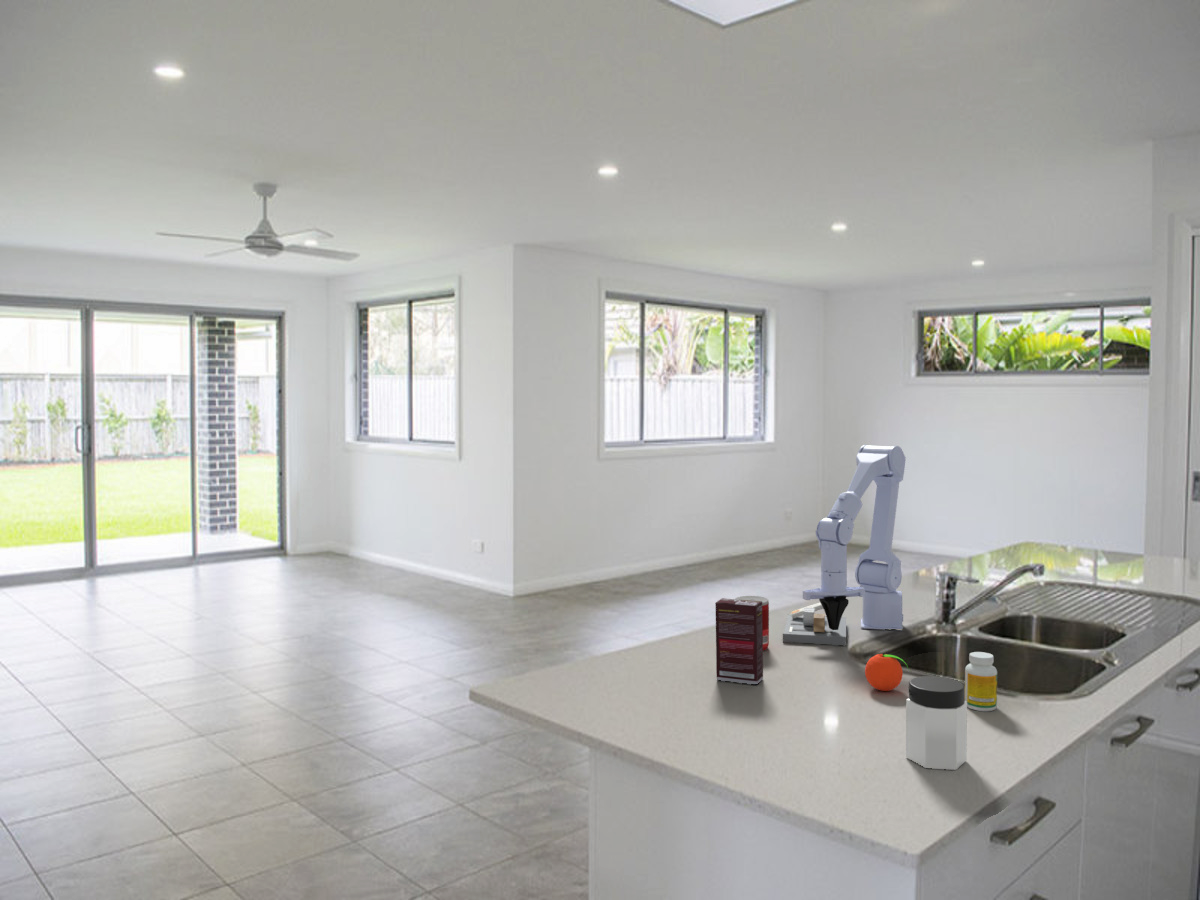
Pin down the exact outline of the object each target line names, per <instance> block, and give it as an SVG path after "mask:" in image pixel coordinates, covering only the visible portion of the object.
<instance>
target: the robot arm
mask: <svg viewBox="0 0 1200 900" xmlns="http://www.w3.org/2000/svg"><path fill="white" fill-rule="evenodd" d="M905 455H906V454H904V451H903V449H902V447H900V446H899V445H893V446H892V445H890V446H889V445H869V444H863V445H862V446H860V447H859V449H858V451H857V454H856V455H855V457H856V458H855V462H856V469H855V472H854V474H853V476H852V478H851V480H850V483H849V486H848V487H847V490H846V491H845V492H841V493H840V494H839V495H838V497H837V498H836V500H835V502H834V504H833V506H832V508H831V509H830V511H829V513H828V515H827V517H823V519H821V520H819V521H818V523H817V526H816V530H815V537H816V539H817V541H818V548H819V550H820V587H818V588H811V589H805V590H804V589H803V590H802V599H803V600H805V601H811V600H819V602H820V603H821V604H822V606H823V609H822V610H823V611H824V614H825V616H826V617H827V620H828V625H829V628H830V629H832V630H838V628H839V624H840V620H841V617H843V614H844V613H845V610H846V609H847V607H848V605H849V599H848V598H852V597H856V598H857V597H860V598H862V618H860V628H861V629H866V630H867V629H870V630H885V629H902V630H903V622H904V614H903V592H902V590H898V588H899V587H900V585H901V583H902V579H903V573H902V560H901V559H900V558H899V557H898V556H897V555H896V554H895V553H894V552H893V551H892V547H893V541H894V540H893V539H894V538H893V537H894V531H895V524H896V522H895V521H896V514H897V508H898V507H897V505H898V498H899V488H900V482H902V481H904V474H905V468H906V467H905V466H906V459H907V458H906V456H905ZM872 482H874V483H875V485H876V488H875V489H876V490H875V498H874V507H873V514H872V524H871V531H870V538H869V547H868V549H866V550H865V551H864V552H862V553H861V554H859V558H858V561H857V564H856V567H855V570H854V578H855V582H856V583H857V584H858V585H859V586H847V585H848V584H847V581H848V580H847V578H848V574H847V573H848V572H847V571H848V569H847V568H848V564H847V563H848V562H847V559H848V554H847V553H848V552H847V551H848V544H849V543H850V542H851V540H852V539H853V538H852V537H853V533H854V531H853V530H854V528H855V523H854V522H855V520H856V519H857V516H858V515H859V513H860V511H861V509H862V507H863V503H862V500H861V499H862V497H863V495H864V494H865V493H866V491H867V490H868V488H869V487H870V486H871V484H872ZM875 561H877V562H875ZM882 562H884V563H882Z"/></svg>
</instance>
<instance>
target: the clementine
mask: <svg viewBox="0 0 1200 900" xmlns="http://www.w3.org/2000/svg"><path fill="white" fill-rule="evenodd" d="M898 660H900V661H902V662H903V664H905V665H906V667H907V668H909V667H908V664H907V663H906V662H905V661H904V660H903V659H902V658H900V657H899V656H897V655H893V654H886V653H878V654H875V655H874V656H872V657H870V658H869V659H868V661H867V662H866V665H865V668H864V673H865V678H866V680H867V682H868V683H869V685H870V686H871V687H873V688H874V689H875V690H879V691H882V692H889V691H893V690H894V689H896V688H897V687H898V686H899V685H900V684H901V682H902V680H903V675H904V673H903V668H902V665H901V663H900V662H899V661H898Z"/></svg>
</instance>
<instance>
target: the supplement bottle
mask: <svg viewBox="0 0 1200 900" xmlns="http://www.w3.org/2000/svg"><path fill="white" fill-rule="evenodd" d="M968 659H969V663H968V664H967V665H965V668H964V686H965V701H966V702H967V709H970V710H974V711H978V712H992V711H994V710H996V708H997V702H998V698H997V697H998V670H997V668H996V667H995V666H994V665H993V664H994V661H995V660H994V659H995V658H994V655H993V654H991V653H989V652H983V651H974V652H970V653H969V656H968Z"/></svg>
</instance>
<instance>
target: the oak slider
mask: <svg viewBox="0 0 1200 900" xmlns="http://www.w3.org/2000/svg"><path fill="white" fill-rule="evenodd" d="M825 616H826V614H825V613H814V632H824V631H825Z"/></svg>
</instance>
